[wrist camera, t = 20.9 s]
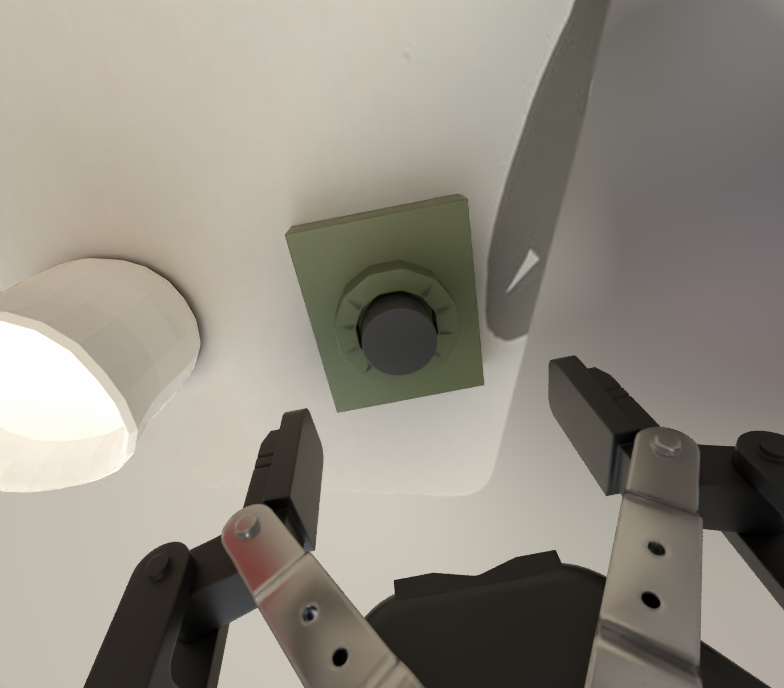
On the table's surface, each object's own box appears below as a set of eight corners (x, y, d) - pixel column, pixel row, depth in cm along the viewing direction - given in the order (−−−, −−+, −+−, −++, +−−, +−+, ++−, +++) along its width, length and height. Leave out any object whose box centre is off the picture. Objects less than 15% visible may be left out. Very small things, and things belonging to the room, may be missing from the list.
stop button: (435, 351, 24) (441, 368, 22) (369, 363, 24) (370, 382, 22) (426, 287, 22) (432, 300, 21) (354, 301, 22) (354, 315, 21)
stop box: (476, 368, 29) (492, 400, 26) (338, 394, 29) (335, 430, 26) (458, 193, 24) (476, 202, 20) (290, 226, 24) (278, 241, 20)
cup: (237, 328, 27) (176, 421, 18) (143, 415, 29) (49, 533, 20) (103, 214, 23) (-56, 259, 14) (8, 324, 25) (-176, 420, 17)
